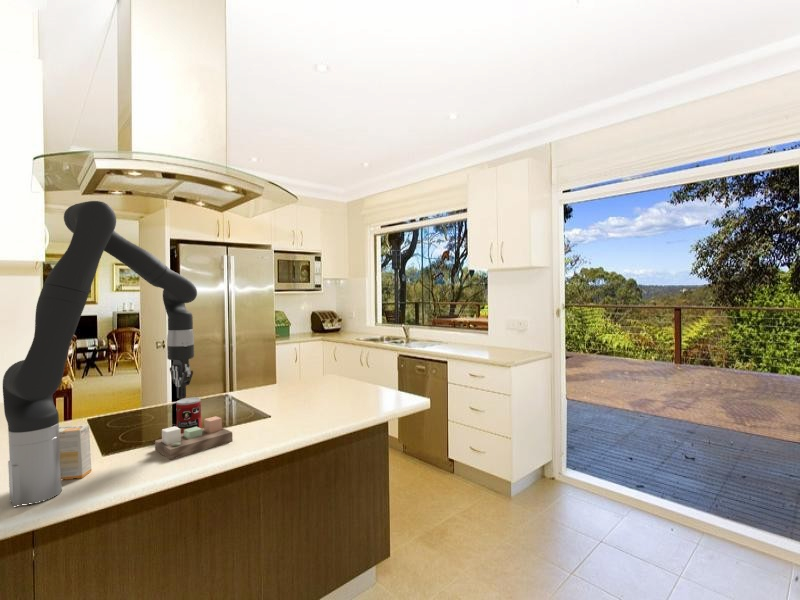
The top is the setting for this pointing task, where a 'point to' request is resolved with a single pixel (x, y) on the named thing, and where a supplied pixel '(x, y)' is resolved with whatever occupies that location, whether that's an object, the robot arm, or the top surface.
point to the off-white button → (171, 435)
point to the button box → (193, 443)
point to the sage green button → (192, 432)
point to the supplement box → (75, 451)
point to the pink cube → (212, 424)
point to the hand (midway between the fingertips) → (181, 398)
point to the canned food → (188, 413)
